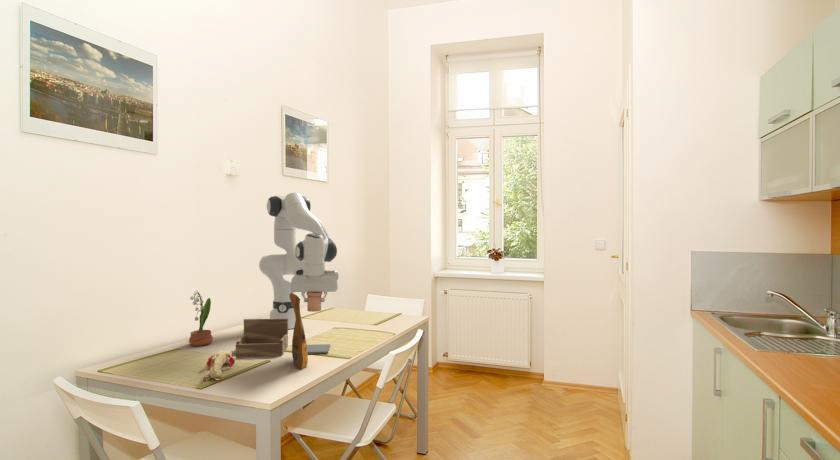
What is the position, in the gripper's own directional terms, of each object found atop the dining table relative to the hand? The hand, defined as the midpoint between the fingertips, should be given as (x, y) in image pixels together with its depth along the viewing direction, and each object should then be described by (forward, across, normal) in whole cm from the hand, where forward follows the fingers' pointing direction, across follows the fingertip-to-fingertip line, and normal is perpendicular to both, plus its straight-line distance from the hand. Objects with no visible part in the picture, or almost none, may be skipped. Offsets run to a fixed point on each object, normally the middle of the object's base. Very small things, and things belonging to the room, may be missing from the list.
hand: (314, 302), depth 206 cm
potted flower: (+21, +53, -14) cm, 59 cm away
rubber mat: (+21, -1, 0) cm, 21 cm away
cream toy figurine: (+22, +32, +25) cm, 46 cm away
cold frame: (+21, +22, 0) cm, 31 cm away
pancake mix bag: (+22, +4, +19) cm, 29 cm away
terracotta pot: (+4, 0, 0) cm, 4 cm away
